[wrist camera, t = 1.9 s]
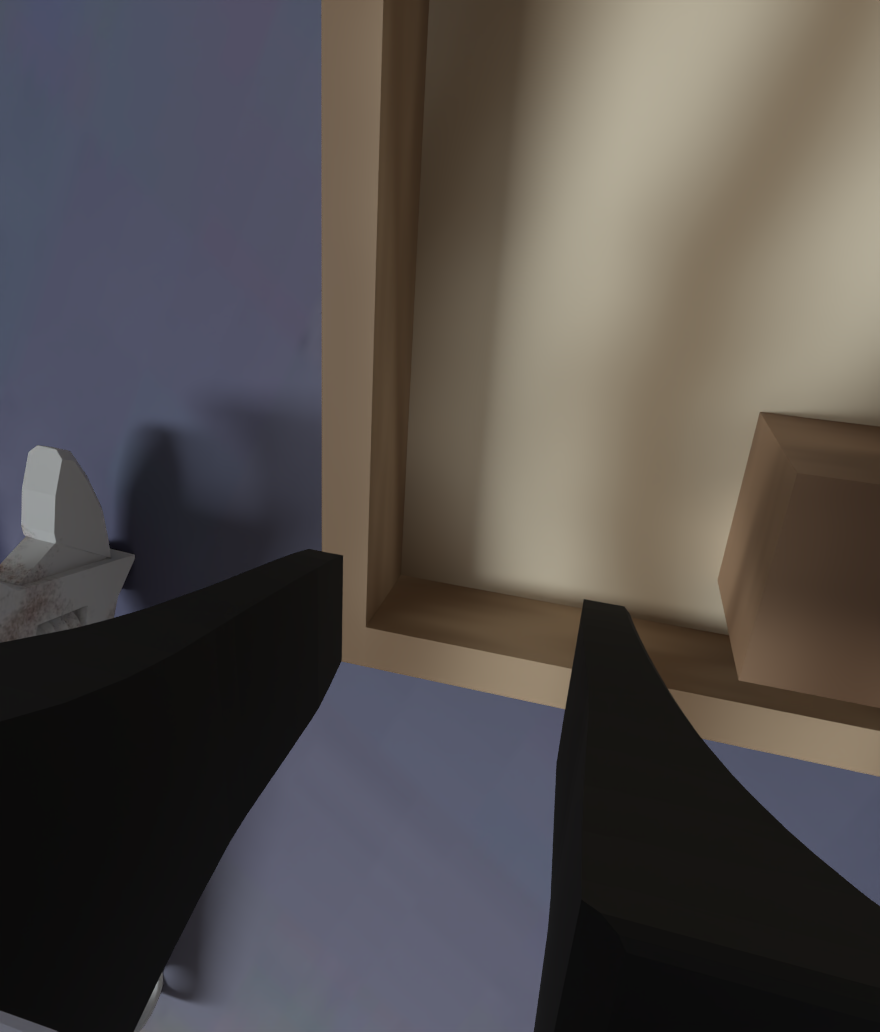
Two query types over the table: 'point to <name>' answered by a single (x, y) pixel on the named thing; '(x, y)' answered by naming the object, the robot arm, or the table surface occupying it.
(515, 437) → the cubby base
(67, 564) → the wrench
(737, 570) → the walnut block
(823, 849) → the table surface
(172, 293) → the table surface
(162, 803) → the robot arm
